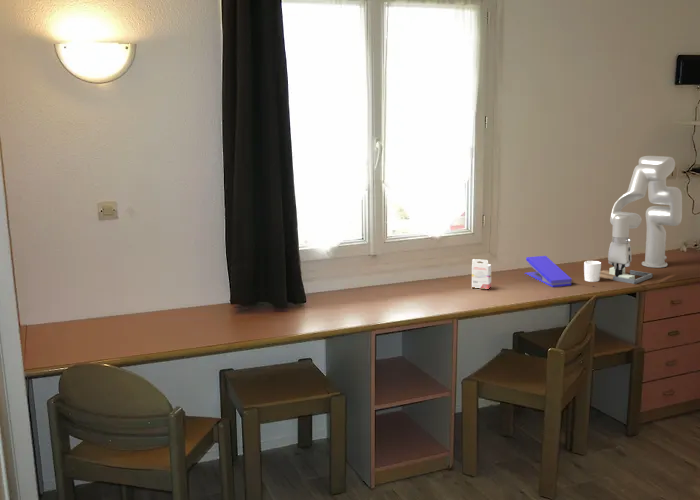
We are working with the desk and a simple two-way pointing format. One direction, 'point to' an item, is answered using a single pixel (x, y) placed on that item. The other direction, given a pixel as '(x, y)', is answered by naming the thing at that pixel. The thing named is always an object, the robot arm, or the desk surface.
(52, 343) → the desk surface
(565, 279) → the stapler
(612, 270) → the sage tile
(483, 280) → the ink cartridge box
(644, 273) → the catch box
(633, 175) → the robot arm
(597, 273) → the white cup
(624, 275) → the sage tile
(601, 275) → the walnut board
